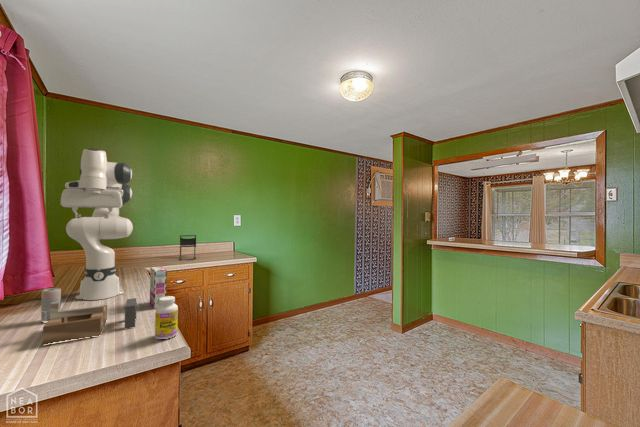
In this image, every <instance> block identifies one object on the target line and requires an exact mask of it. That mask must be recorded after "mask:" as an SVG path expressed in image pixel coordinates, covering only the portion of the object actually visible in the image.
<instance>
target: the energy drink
mask: <svg viewBox="0 0 640 427" xmlns="http://www.w3.org/2000/svg"><path fill="white" fill-rule="evenodd" d="M41 291H42V292H40V293H41V297H40V299H41V305H40V306H41V307H40V308H41V309H40V314H41V316H40V318H41V319H40V322H41V321H49V320H50V304H51V303H53V302H60V310H62V288H60V287H52V288H51V287H50V288H45V289H43V290H41Z"/></svg>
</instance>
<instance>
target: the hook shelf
mask: <svg viewBox="0 0 640 427" xmlns="http://www.w3.org/2000/svg"><path fill="white" fill-rule="evenodd" d="M106 320H107V321H108V304H100V305H94V306H93V305H92V306H87V307H86V306H84V307H77V308H68V309H61V310H60V302H53V303H51V304H50V320H49V321H48V322H47V323H46V324H44V325H43V326H42V345H43V344H48V343H53V342H59V341H65V340H71V339H79V338H85V337H92V336H99V335H101V336H102V334H101V332H102V333H103V331H104V329H103V327H104V328H105V326H106V324H107V322H106ZM105 323H106V324H105ZM104 325H105V326H104ZM102 330H103V331H102Z"/></svg>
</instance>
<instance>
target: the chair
mask: <svg viewBox="0 0 640 427" xmlns="http://www.w3.org/2000/svg"><path fill="white" fill-rule="evenodd" d="M182 237H193V238H182ZM182 248H194V249H193V258H187V259H186V258H185V259H184V258H183V259H182ZM196 248H197V234H182V235H179V261H181V260H185V261H194V259H196V260H197V258H196Z"/></svg>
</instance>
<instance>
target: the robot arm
mask: <svg viewBox="0 0 640 427" xmlns="http://www.w3.org/2000/svg"><path fill="white" fill-rule="evenodd" d="M78 170H79V176H80V177H79V179H78V180H74V181H67V182H66V183H65V184H64V187H65V189H63V191H62V192H61V196H60V206H62V207H63V208H71V210H72V212H73V213H74V214H75V215H74V216H75V218H72V219H70V220H69V221H68V222H67V224H66V225H65V232H66V233H67V235H68V236H69V237H70V238H71V239H72V240H74V241H76V242H77V243H78V244H80V246H81V247H82V248H83V250H84V254H85V263H86V264H85V266H86V268H84V278H83V279H81V281H80V288H79V294H78V295H76V296H75V298H76V299H75V298H74V299H75V300H82V299H83V300H82V301H96V300H97V301H98V300H105V299H109V298H114V297H117V296H121V295H123V294H125V292H124V290H123V288H122V287H121V283H120V277H119V276H117V275H116V273H117V266H116V265H115V264H116V263H115V262H116V252H115V250H114V249H113V248H111V247H109V246H107V245H104V244H102V243H101V241H100V240H118V239H123V238H128V237H129V236H130V235H131V234H132V233H133V230H134V226H133V222H132V221H131V220H130V219H129V218H128V217H123V216H120V209H121V208H122V207H123V206H124V205H125V204H126V203H128V202H129V201H131V199H132V197H133V190H132V187H131V186H130V185H129V182H131V180H132V177H133V170H132V168H131V166H130V165H129V164H128V163H127V162H115V161H114V162H113V161H112V162H111V161H108V158H107V153H106V151H105V150H103V149H98V148H83V150H82V154H81V159H80V163H79V169H78ZM78 208H89V209H90V208H91V209H93V208H95V209H94V210H93V213H92V215H91V216H82V214H81V213H78V212H77V211H78Z"/></svg>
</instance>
